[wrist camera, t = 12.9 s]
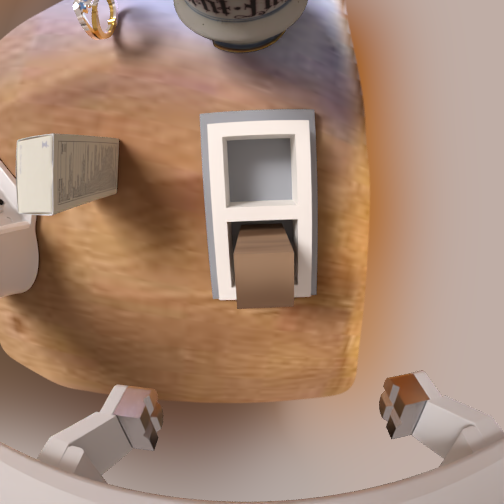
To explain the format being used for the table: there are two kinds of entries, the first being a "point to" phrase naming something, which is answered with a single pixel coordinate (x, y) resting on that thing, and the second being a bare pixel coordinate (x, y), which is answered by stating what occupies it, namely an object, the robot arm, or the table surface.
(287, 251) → the walnut peg
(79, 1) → the ring
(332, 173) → the table surface
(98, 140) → the skincare box
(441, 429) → the robot arm
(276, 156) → the slot rack
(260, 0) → the apothecary jar
